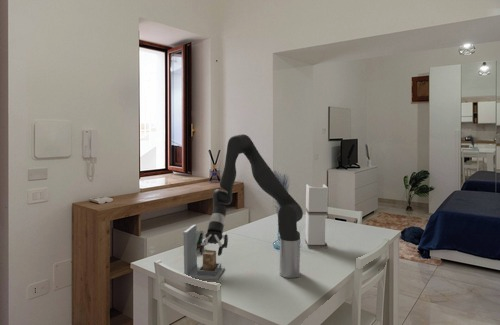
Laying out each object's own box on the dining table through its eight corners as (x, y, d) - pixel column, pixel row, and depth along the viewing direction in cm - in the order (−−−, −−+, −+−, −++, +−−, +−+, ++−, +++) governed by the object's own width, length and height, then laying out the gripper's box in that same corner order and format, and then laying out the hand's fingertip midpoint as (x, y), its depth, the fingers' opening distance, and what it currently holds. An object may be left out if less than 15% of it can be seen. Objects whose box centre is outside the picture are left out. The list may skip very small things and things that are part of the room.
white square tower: (326, 248, 201) (328, 187, 197) (308, 248, 201) (309, 187, 198) (323, 242, 212) (324, 184, 209) (305, 241, 212) (306, 184, 209)
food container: (183, 251, 196) (183, 233, 195) (182, 247, 202) (182, 230, 201) (205, 249, 199) (205, 231, 198) (204, 245, 205) (204, 228, 204)
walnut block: (216, 269, 168) (216, 250, 167) (212, 274, 162) (212, 255, 161) (206, 268, 168) (205, 250, 168) (202, 273, 163) (202, 254, 162)
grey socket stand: (224, 268, 171) (224, 226, 169) (217, 280, 158) (216, 233, 156) (194, 266, 174) (193, 224, 172) (184, 277, 161) (183, 232, 159)
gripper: (201, 219, 174) (193, 250, 164) (229, 221, 172) (223, 252, 161) (204, 227, 180) (197, 257, 170) (231, 228, 177) (226, 259, 167)
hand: (210, 254), depth 166 cm, fingers open, 8 cm apart
